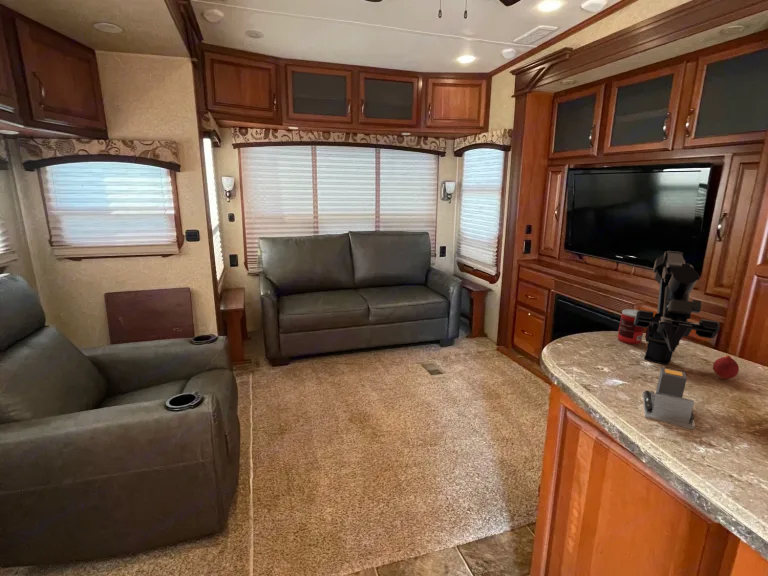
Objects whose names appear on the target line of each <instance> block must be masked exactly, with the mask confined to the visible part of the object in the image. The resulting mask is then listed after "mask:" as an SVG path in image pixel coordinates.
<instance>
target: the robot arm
mask: <svg viewBox="0 0 768 576" xmlns="http://www.w3.org/2000/svg"><path fill="white" fill-rule="evenodd" d="M652 269H653V270H652V273H654V280H655V281H656V282H657V283H658V284H659V287H658V299H657V308H656V310H657V311H656V313H654V311H652V310H651V311H649V310H643V309H639V310H638V311H637V313H636V316H635V321H634V325H635V326H638V327H644V329H646V330H645V337H644V338H645V343H647V342H648V343H647V347H646V351H645V355H644V358H643V359H644V360H647V361H650V362H655V363H658V364H661V365H667V366H668V364H669V362H671V360H672V357H673V353H674V352H675V350H676V348H677V347H678V346H679V345H680V342H681V340H682V339H683V337H686V338H687V337H689V335H690V333H691V332H692V330H695V334H696V335H697V336H698V337H701V338H706V339H714V338H715V337H716V336H717V334H718V333H719V331H720V329H721V325H720V322H718V321H717V320H712V319H704V318H701V319H700V320H699V322H693V321H692V322H691V321H689V320H690V319H691V315H692V313H695V314H699V313H700V312H701V310H702V309H701V308H702V300H698V299H697V300H696V299H692V300H691V301H690V294H691V292H692V291H693V290H694V288H695V285H696V283H697V282H698V281H700V274H699V273H698V271H697V270H696V269H695V268H694V265H692V264H690V263H686V260H685V258H684V253H683V252H681V251H672V250H667V251H664V253H663V255H661V256H659V257H658V256H657V257H656V259H655V261H654V265H653V268H652Z"/></svg>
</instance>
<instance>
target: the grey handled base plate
mask: <svg viewBox="0 0 768 576" xmlns="http://www.w3.org/2000/svg"><path fill="white" fill-rule="evenodd" d="M655 393H656V396H655ZM642 400H643V401H642V403H643V412H644V413H643V414H644V418H646V419H651V420H655V421H659V422H663V423H667V424H670V425H673V426H674V425H675V426H678V427H682V428H685V429H690V430H694V431H695V429H696V423H695V421H694V420H695V415H694V412H693V408H694V405H695V401H694V400H693V399H688V398H684V397H682V398H681V397H676V396H672V395H668V394H663V393H659V392H656V391H651V390H645V391H644V392H643V393H642Z"/></svg>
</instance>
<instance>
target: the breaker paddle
mask: <svg viewBox="0 0 768 576" xmlns="http://www.w3.org/2000/svg"><path fill="white" fill-rule="evenodd" d="M686 383H687V375H686V373H685V371H680V370H676V369H670V368H666V367H665V368H664V367H661V368H660V370H659V375H658V381H657V385H656V389H655V392H654V395H655V396H656V392H659V393H663V394H668V395H672V396H676V397H681V398H683V396H684V393H685V388H686V387H685V386H686Z"/></svg>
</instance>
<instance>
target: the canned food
mask: <svg viewBox="0 0 768 576" xmlns="http://www.w3.org/2000/svg"><path fill="white" fill-rule="evenodd" d="M621 311H622V312H621V315H620V321H619V327H618V330H617V331H618V333H617V340H618V341H620V342H622V343H623V344H628V345H640V344H641V342H642V340H643V335H644V329H645V328H644V327H638V326H635V325H634V321H635V316H636V313H637V311H639V310H638V309H629V308H628V309H627V308H626V309H623V310H621Z"/></svg>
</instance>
